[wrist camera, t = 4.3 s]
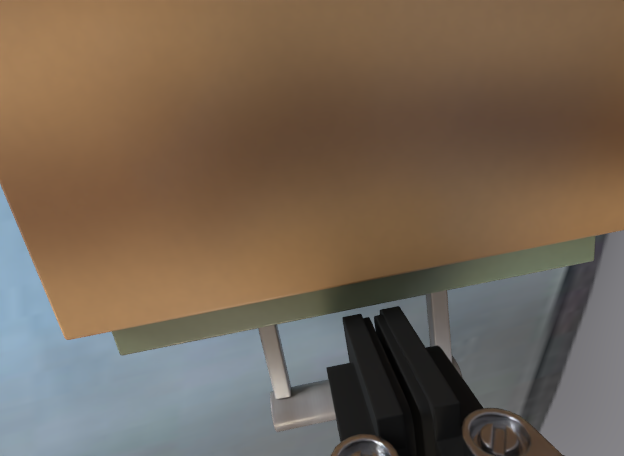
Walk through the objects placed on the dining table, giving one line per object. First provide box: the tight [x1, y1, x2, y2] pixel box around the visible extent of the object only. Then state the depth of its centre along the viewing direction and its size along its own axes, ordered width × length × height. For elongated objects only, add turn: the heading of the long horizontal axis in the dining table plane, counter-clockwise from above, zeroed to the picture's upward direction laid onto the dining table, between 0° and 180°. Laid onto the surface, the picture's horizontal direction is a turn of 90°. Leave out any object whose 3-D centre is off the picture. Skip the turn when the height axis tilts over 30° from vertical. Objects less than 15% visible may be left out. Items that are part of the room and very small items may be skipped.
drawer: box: [112, 236, 595, 432], centre depth 13 cm, size 21×13×7 cm, turn 10°
